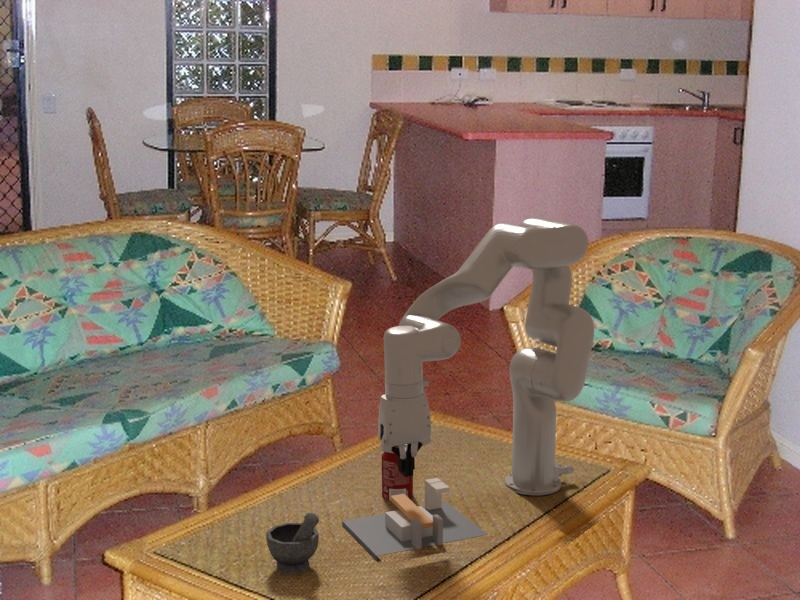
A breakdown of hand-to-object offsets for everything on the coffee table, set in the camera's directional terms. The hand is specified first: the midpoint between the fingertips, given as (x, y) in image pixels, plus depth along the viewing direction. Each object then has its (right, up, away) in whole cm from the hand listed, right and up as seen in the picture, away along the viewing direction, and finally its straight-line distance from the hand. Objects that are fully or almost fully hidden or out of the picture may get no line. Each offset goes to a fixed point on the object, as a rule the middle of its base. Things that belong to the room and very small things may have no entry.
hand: (406, 474), depth 234 cm
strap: (+1, -7, -3) cm, 8 cm away
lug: (+6, -9, +8) cm, 13 cm away
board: (+1, -12, 0) cm, 12 cm away
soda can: (-2, -8, +16) cm, 19 cm away
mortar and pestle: (-21, -16, -16) cm, 30 cm away
